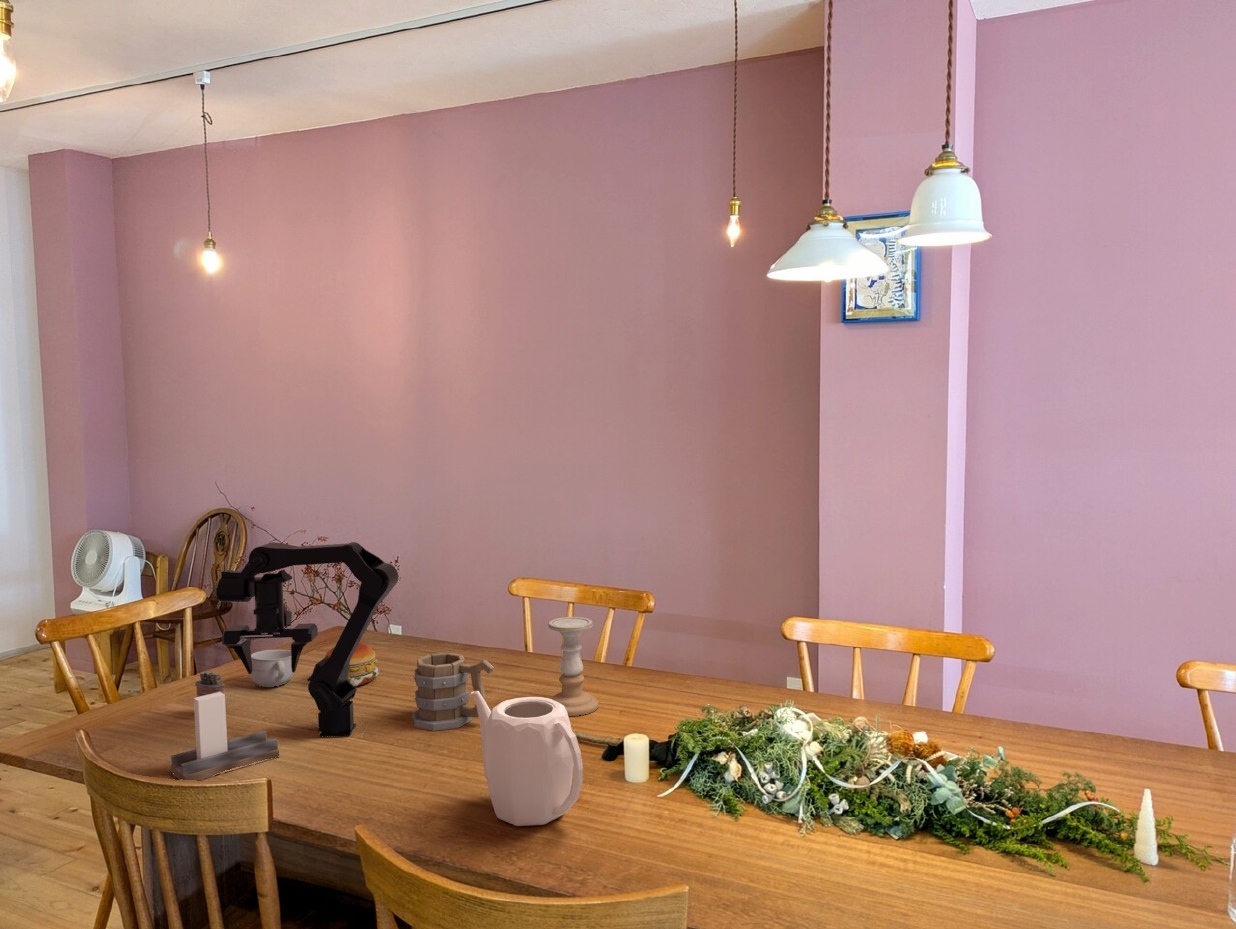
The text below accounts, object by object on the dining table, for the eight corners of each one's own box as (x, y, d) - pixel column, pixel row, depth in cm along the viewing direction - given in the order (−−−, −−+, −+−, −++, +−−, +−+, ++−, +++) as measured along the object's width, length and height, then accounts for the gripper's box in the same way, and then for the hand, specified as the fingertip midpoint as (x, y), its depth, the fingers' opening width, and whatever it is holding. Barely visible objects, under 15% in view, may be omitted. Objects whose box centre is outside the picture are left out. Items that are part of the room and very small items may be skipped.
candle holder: (575, 720, 197) (573, 631, 196) (534, 709, 205) (532, 623, 203) (609, 705, 207) (608, 620, 206) (569, 695, 214) (567, 613, 213)
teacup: (250, 681, 229) (248, 650, 228) (294, 675, 233) (293, 645, 233) (252, 697, 216) (251, 665, 216) (299, 690, 221) (298, 659, 220)
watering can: (505, 775, 169) (503, 678, 168) (612, 816, 152) (610, 708, 151) (441, 805, 157) (438, 701, 156) (549, 852, 140) (546, 736, 139)
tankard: (401, 725, 196) (399, 658, 195) (438, 707, 207) (436, 644, 206) (474, 740, 187) (472, 670, 186) (509, 720, 198) (507, 654, 197)
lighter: (193, 714, 205) (191, 672, 204) (206, 709, 208) (204, 668, 207) (216, 720, 201) (214, 676, 200) (229, 715, 204) (227, 672, 203)
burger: (320, 678, 230) (319, 640, 230) (374, 671, 236) (372, 634, 235) (327, 693, 218) (325, 654, 217) (383, 685, 224) (382, 646, 223)
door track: (263, 746, 185) (262, 730, 185) (279, 757, 179) (278, 740, 179) (171, 772, 173) (170, 754, 172) (185, 784, 167) (184, 766, 167)
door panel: (223, 755, 177) (220, 691, 176) (227, 758, 175) (224, 694, 174) (197, 763, 173) (193, 697, 172) (201, 766, 171) (198, 700, 170)
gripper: (323, 592, 200) (325, 660, 201) (238, 594, 199) (241, 663, 200) (309, 604, 189) (312, 675, 190) (219, 606, 188) (222, 678, 189)
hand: (272, 672), depth 193 cm, fingers open, 9 cm apart
